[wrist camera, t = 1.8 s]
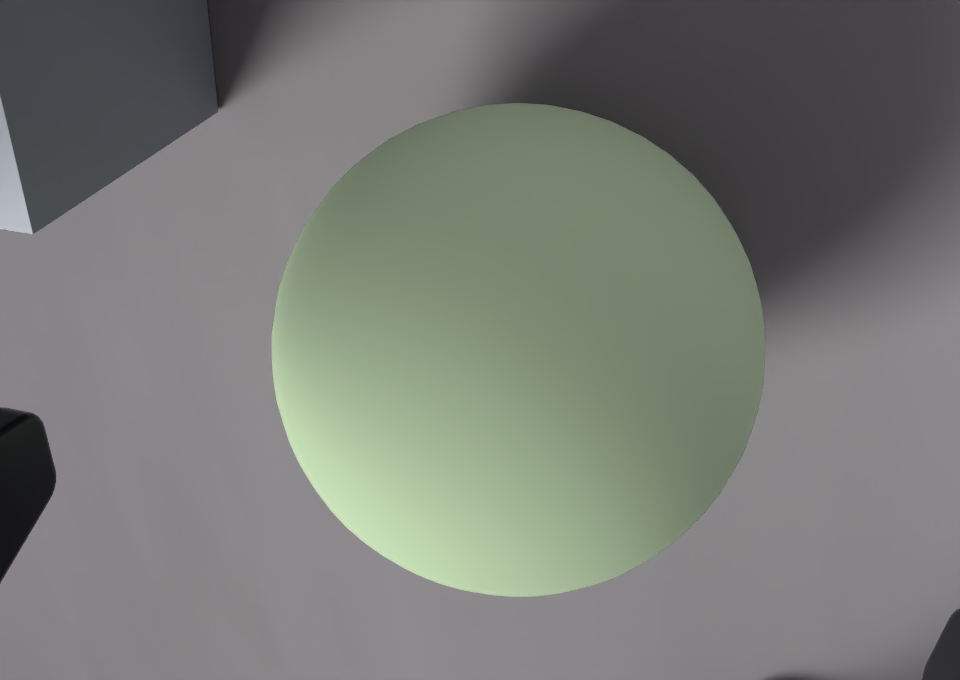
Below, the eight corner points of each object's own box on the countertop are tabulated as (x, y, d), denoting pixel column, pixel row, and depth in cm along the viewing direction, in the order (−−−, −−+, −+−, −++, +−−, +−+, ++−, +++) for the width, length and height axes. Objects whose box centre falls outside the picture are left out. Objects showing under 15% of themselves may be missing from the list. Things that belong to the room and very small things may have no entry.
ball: (805, 75, 12) (863, 295, 7) (712, 435, 15) (705, 762, 10) (365, 22, 13) (133, 180, 8) (368, 371, 16) (207, 641, 11)
